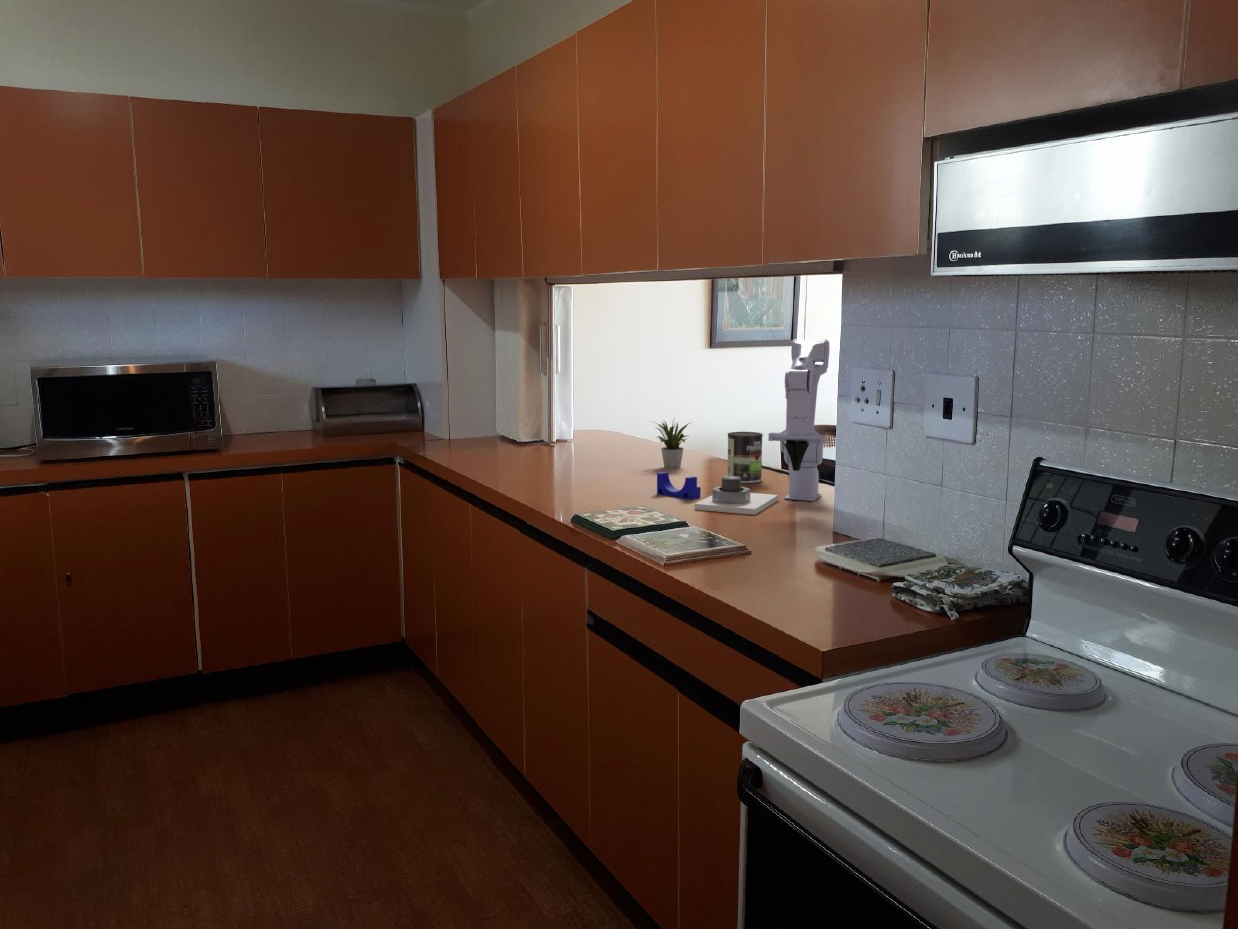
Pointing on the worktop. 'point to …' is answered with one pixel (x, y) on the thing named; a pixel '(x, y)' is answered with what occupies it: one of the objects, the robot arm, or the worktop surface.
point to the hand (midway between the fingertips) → (796, 470)
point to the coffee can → (745, 456)
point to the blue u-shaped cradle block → (668, 489)
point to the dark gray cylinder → (731, 483)
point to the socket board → (739, 508)
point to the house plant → (672, 445)
